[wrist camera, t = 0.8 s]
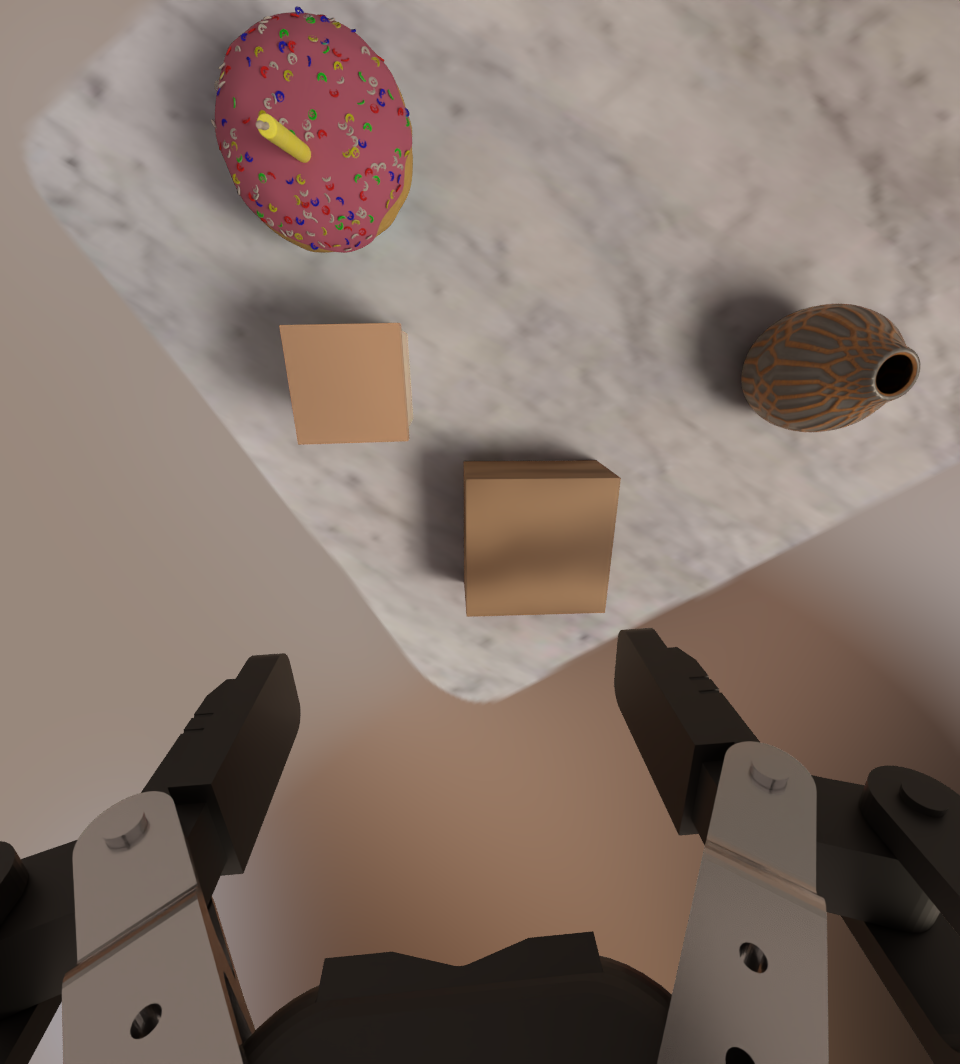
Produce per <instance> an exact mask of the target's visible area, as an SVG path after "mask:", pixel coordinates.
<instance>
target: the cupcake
mask: <svg viewBox="0 0 960 1064" xmlns="http://www.w3.org/2000/svg"><path fill="white" fill-rule="evenodd" d="M297 10H299V12H298V11H297ZM295 11H296V12H293V13H282V14H276V15H273V16H270V17H269V16H268V17H264V18H263V20H261V21H259V22H257V23H256V24H254V25H253V26H252V27H251V28H249V29H248V30H247V31H246V32H244V33H243V34H242V35H241V36H240V37H238V38H237V39H236V40H235V41H234V42H233V43H232V44H231V45H230V46H229V48H228V50H227V53H226V56H225V59H224V63H223V64H222V65H221V66H220V67H219V69H221V68H222V70H221V74H220V78H219V80H217V81H216V82H215V84H214V87H215V90H216V91H217V95H216V105H215V121H214V120H213V119H212V120H211V122H212V124H213V125H214V127H215V131H216V137H217V142H218V145H219V150H221V153H222V155H223V157H224V159H225V162H226V164H227V167H228V169H229V172H230V174H231V177H232V179H233V181H234V184H235V186H236V188H237V193H238V195H240V196H241V197H242V199H243V200H244V202H245V203H246V204H247V206H248V207H249V208H250V209H251V210H252V211H253V212H254V213H255V214H256V215H257V216H258V217H259V218H260V219H261V220H262V221H263V222H264V223H265V224H266V225H267V226H268V227H269V228H270V229H272V230H273V231H274V232H275V233H277V234H278V235H279V236H281V237H282V238H284V239H286V240H288V241H289V242H291V243H293V244H295V245H297V246H299V247H301V248H304V249H306V250H309V251H312V252H344V253H345V252H352V251H355V250H358V249H360V248H363V247H365V246H366V245H368V244H369V243H371V242H372V241H373V240H374V238H375V237H377V236H378V235H379V234H381V233H382V232H383V231H385V230H386V229H387V228H388V227H389V226H390V225H391V224H392V223H393V221H394V220H395V218H396V216H397V214H398V212H399V210H400V208H401V207H402V205H403V203H404V202H405V200H406V198H407V196H408V193H409V190H410V186H411V181H412V168H413V155H412V127H411V123H410V119H409V111H408V109H406V107H405V104H404V100H403V97H402V95H401V92H400V90H399V88H398V86H397V84H396V82H395V80H394V77H393V75H392V74H391V72H390V70H389V69H388V67H387V66H386V65H385V64H384V60H383V59H382V58H381V57H379V56H378V55H377V54H376V53H375V52H374V51H373V50H372V49H371V48H370V47H369V46H368V45H367V43H366V42H365V41H364V40H363V39H362V38H361V37H360V36H358V35H357V34H356V33H355V32H356V29H352V30H351V29H349V28H348V27H346V26H344V25H343V24H341V23H339V22H336V21H334V20H335V18H331V19H329V18H327V17H326V16H325V15H314V14H309V13H304V12H303V10H302V9H301V8H300V7H295ZM300 11H301V12H302V13H301V12H300ZM217 84H218V85H217ZM216 85H217V86H218V88H216ZM213 122H214V123H213Z"/></svg>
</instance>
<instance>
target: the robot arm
mask: <svg viewBox="0 0 960 1064" xmlns="http://www.w3.org/2000/svg"><path fill="white" fill-rule="evenodd" d="M614 687H615V695H616V699H617V703H618V706H619V708H620V711H621V713H622V715H623V717H624V719H625V721H626V723H627V726H628V728H629V730H630V732H631V734H632V736H633V738H634V740H635V743H636V745H637V747H638V749H639V751H640V753H641V755H642V758H643V759H644V762H645V764H646V766H647V768H648V770H649V773H650V775H651V776H652V779H653V781H654V783H655V785H656V787H657V790H658V792H659V794H660V796H661V798H662V800H663V802H664V804H665V807H666V809H667V811H668V813H669V815H670V817H671V819H672V822H673V824H674V826H675V828H676V830H677V832H678V834H679V835H690V834H699V835H700V837H701V839H702V841H703V843H704V845H705V848H704V852H703V857H702V861H701V866H700V870H699V876H698V880H697V885H696V889H695V893H694V898H693V902H692V907H691V911H690V916H689V920H688V925H687V930H686V934H685V939H684V943H683V948H682V952H681V957H680V962H679V966H678V970H677V975H676V980H675V984H674V989H673V993H672V994H670V993H669V992H668V991H667V990H666V989H664V988H663V987H662V986H661V985H660V984H658V983H657V982H655V981H654V980H652V979H651V978H649V977H648V976H646V975H645V974H644V973H642V972H640V971H638V970H636V969H634V968H632V967H630V966H629V965H627V964H624V963H621V962H619V961H616V960H613V959H611V958H607V957H603V956H599V953H598V949H597V945H596V941H595V937H594V933H593V932H583V933H574V934H564V935H553V936H544V937H534V938H527V939H525V940H523V941H521V942H518V943H516V944H514V945H511V946H509V947H507V948H505V949H502V950H500V951H498V952H495V953H493V954H491V955H489V956H486V957H484V958H482V959H479V960H477V961H475V962H472V963H470V964H468V965H465V966H452V965H448V964H444V963H439V962H435V961H430V960H426V959H422V958H417V957H413V956H409V955H404V954H399V953H395V952H386V953H385V952H384V953H376V954H365V955H354V956H345V957H334V958H326V959H325V961H324V966H323V970H322V975H321V980H320V985H319V986H316V987H314V988H312V989H310V990H308V991H306V992H305V993H303V994H301V995H300V996H298V997H296V998H294V999H293V1000H292V1001H290V1002H289V1003H287V1004H286V1005H285V1006H283V1007H282V1008H280V1009H279V1010H278V1011H276V1012H275V1013H274V1014H273V1015H272V1016H271V1017H270V1018H269V1019H267V1020H266V1021H265V1022H264V1023H263V1024H262V1025H261V1026H260V1027H259V1028H257V1029H256V1030H255V1027H254V1024H253V1021H252V1018H251V1015H250V1013H249V1010H248V1008H247V1004H246V1002H245V999H244V996H243V993H242V989H241V986H240V983H239V980H238V977H237V974H236V970H235V967H234V964H233V960H232V957H231V954H230V950H229V948H228V944H227V941H226V937H225V934H224V931H223V928H222V924H221V921H220V918H219V915H218V911H217V908H216V905H215V902H214V899H213V897H212V894H213V892H214V890H215V887H216V885H217V882H218V880H219V878H220V876H222V875H233V874H243V873H244V870H245V868H246V865H247V863H248V860H249V857H250V855H251V852H252V850H253V847H254V844H255V842H256V839H257V837H258V834H259V831H260V829H261V826H262V824H263V821H264V818H265V816H266V813H267V811H268V808H269V805H270V803H271V800H272V797H273V795H274V792H275V790H276V787H277V785H278V782H279V779H280V777H281V774H282V771H283V769H284V766H285V764H286V761H287V758H288V756H289V753H290V751H291V748H292V746H293V743H294V740H295V738H296V735H297V732H298V729H299V724H300V703H299V699H298V695H297V690H296V686H295V682H294V678H293V673H292V669H291V665H290V661H289V658H288V656H287V655H286V654H269V655H256V656H251V657H250V658H249V659H248V660H247V661H246V663H245V665H244V666H243V668H242V669H241V671H240V673H239V674H238V676H237V678H236V679H227V680H225V681H224V682H223V683H222V684H221V685H219V686H218V687H217V688H216V689H215V690H213V691H212V692H211V693H210V694H209V695H207V696H206V698H205V699H204V701H203V702H202V704H201V705H200V707H199V708H198V710H197V711H196V712H195V714H194V718H191V720H190V721H189V723H188V724H187V726H186V727H185V729H184V733H183V734H181V735H180V736H179V737H178V739H177V740H176V742H175V743H174V745H173V747H172V748H171V749H170V751H169V752H168V754H167V755H166V757H165V758H164V760H163V761H162V762H161V764H160V765H159V767H158V768H157V770H156V771H155V773H154V774H153V776H152V777H151V779H150V780H149V782H148V783H147V785H146V786H145V788H144V789H143V790H142V792H141V793H140V794H136V795H133V796H131V797H128V798H126V799H124V800H121V801H120V802H118V803H116V804H114V805H113V806H111V807H110V808H108V809H107V810H105V811H104V812H103V813H101V814H100V815H99V816H98V817H97V818H96V819H94V820H93V821H92V822H91V823H90V824H89V825H88V827H87V828H86V829H85V830H84V831H83V833H82V834H81V835H80V837H79V839H78V840H75V841H73V842H70V843H67V844H64V845H61V846H58V847H55V848H53V849H50V850H46V851H44V852H41V853H38V854H35V855H32V856H29V857H26V858H23V859H20V857H19V856H18V854H17V853H16V851H15V849H14V848H13V847H12V846H11V845H10V844H8V843H6V842H1V841H0V1064H28V1063H29V1061H30V1059H31V1057H32V1055H33V1054H34V1052H35V1049H36V1048H37V1046H38V1044H39V1042H40V1041H41V1039H42V1037H43V1035H44V1033H45V1031H46V1030H47V1028H48V1026H49V1024H50V1022H51V1020H52V1018H53V1017H54V1015H55V1013H56V1011H57V1009H58V1007H59V1005H60V1004H61V1002H62V1027H63V1064H828V987H827V986H828V985H827V916H826V912H829V913H833V914H837V915H841V917H842V918H843V920H844V922H845V923H846V925H847V926H848V928H849V930H850V931H851V933H852V934H853V936H854V937H855V939H856V941H857V942H858V944H859V945H860V947H861V948H862V950H863V952H864V953H865V955H866V957H867V958H868V960H869V961H870V963H871V964H872V966H873V968H874V969H875V971H876V972H877V974H878V975H879V977H880V979H881V980H882V982H883V984H884V985H885V987H886V988H887V990H888V991H889V993H890V995H891V996H892V998H893V999H894V1001H895V1003H896V1004H897V1006H898V1007H899V1009H900V1011H901V1012H902V1014H903V1015H904V1017H905V1018H906V1020H907V1022H908V1023H909V1025H910V1026H911V1028H912V1030H913V1031H914V1033H915V1034H916V1036H917V1038H918V1039H919V1041H920V1042H921V1044H922V1045H923V1047H924V1049H925V1050H926V1052H927V1053H928V1055H929V1057H930V1058H931V1060H932V1061H933V1063H934V1064H960V795H958V794H957V793H956V792H954V791H953V790H951V789H950V788H949V787H947V786H946V785H944V784H943V783H941V782H939V781H937V780H936V779H934V778H932V777H930V776H927V775H925V774H923V773H920V772H918V771H915V770H912V769H908V768H904V767H898V766H881V767H877V768H875V769H873V770H872V771H871V772H870V773H869V776H868V778H867V781H866V783H865V785H859V784H854V783H848V782H843V781H838V780H832V779H827V778H822V777H817V776H813V775H811V774H810V773H809V772H808V770H807V769H806V768H805V767H804V766H803V765H802V764H801V763H800V762H799V761H798V760H796V759H795V758H794V757H792V756H791V755H789V754H788V753H786V752H784V751H782V750H780V749H778V748H776V747H774V746H771V745H768V744H764V743H760V741H759V740H758V739H757V737H756V736H755V735H754V734H753V732H752V731H751V730H750V729H749V727H748V726H747V725H746V723H745V722H744V721H743V720H742V718H741V717H740V716H739V714H738V713H737V712H736V711H735V709H734V708H733V707H732V705H731V704H730V703H729V702H728V700H727V699H726V698H725V696H724V695H723V694H722V693H719V689H718V688H717V686H716V685H715V684H714V682H713V681H712V680H711V679H709V677H708V675H707V673H706V672H705V671H704V670H703V668H702V667H701V666H700V665H699V663H698V662H697V661H696V660H695V659H694V658H692V657H691V656H689V655H688V654H686V653H685V652H683V651H682V650H681V649H679V648H678V647H673V648H667V646H666V645H665V644H664V643H663V641H662V640H661V638H660V637H659V635H658V634H657V633H656V631H655V630H654V629H652V628H643V629H629V630H621V631H620V632H619V635H618V642H617V654H616V666H615V678H614ZM940 912H941V913H940ZM944 917H945V918H944ZM948 922H949V923H948ZM952 927H953V928H954V929H953V928H952ZM956 932H957V933H958V934H957V933H956Z"/></svg>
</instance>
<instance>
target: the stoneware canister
mask: <svg viewBox="0 0 960 1064" xmlns="http://www.w3.org/2000/svg"><path fill="white" fill-rule="evenodd" d="M279 327H280V333H281V340H282V346H283V352H284V358H285V365H286V371H287V377H288V384H289V390H290V396H291V402H292V409H293V415H294V421H295V427H296V434H297V440H298V445H301V444H332V443H363V442H394V441H409V426H410V424H411V422H412V420H413V407H412V393H411V379H410V364H409V350H408V336H407V333H405V332H403V331H402V330H401V324H400V323H369V324H314V325H279Z"/></svg>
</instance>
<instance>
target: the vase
mask: <svg viewBox="0 0 960 1064" xmlns="http://www.w3.org/2000/svg"><path fill="white" fill-rule="evenodd" d="M919 372H920V360H919V357H918V355H917V354H916V352H915V351H913V350H912V349H910V348H909V347H907V346H906V344H905V342H904V339H903V337H902V335H901V334H900V332H899V330H898V329H897V327H896V326H895V325H894V324H893V323H892V322H891V321H890V320H889V319H887V318H886V317H884V316H883V315H881V314H879V313H877V312H875V311H873V310H871V309H867V308H864V307H861V306H856V305H851V304H826V305H820V306H814V307H810V308H806V309H802V310H800V311H797V312H795V313H792V314H790V315H788V316H786V317H784V318H782V319H781V320H779V321H778V322H776V323H775V324H773V325H772V326H770V327H769V328H768V329H767V330H766V331H765V332H764V333H762V334H761V335H760V337H759V338H758V339H757V340H756V341H755V342H754V344H753V345H752V347H751V348H750V350H749V352H748V354H747V356H746V359H745V362H744V365H743V369H742V389H743V393H744V396H745V398H746V400H747V402H748V403H749V405H750V406H751V408H752V409H753V410H754V411H755V412H756V413H757V414H758V415H759V416H760V417H762V418H763V419H765V420H766V421H768V422H769V423H771V424H774V425H776V426H779V427H782V428H785V429H789V430H793V431H799V432H822V431H829V430H835V429H839V428H843V427H846V426H849V425H852V424H854V423H857V422H859V421H861V420H863V419H864V418H866V417H868V416H869V415H871V414H872V413H874V412H875V411H876V410H878V409H879V408H880V407H882V406H883V405H884V404H885V403H887V402H889V401H892V400H894V399H897V398H899V397H901V396H903V395H904V394H905V393H907V392H908V391H909V390H910V389H911V388H912V386H913V385H914V384H915V382H916V380H917V378H918V376H919Z"/></svg>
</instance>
